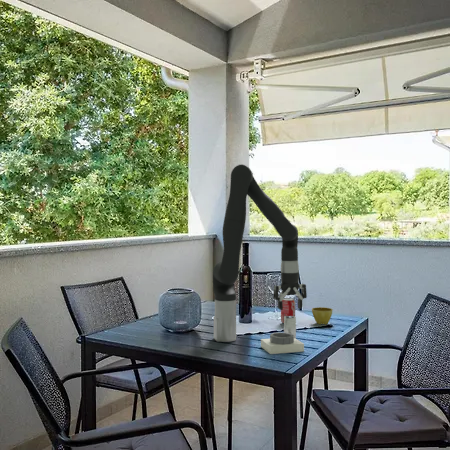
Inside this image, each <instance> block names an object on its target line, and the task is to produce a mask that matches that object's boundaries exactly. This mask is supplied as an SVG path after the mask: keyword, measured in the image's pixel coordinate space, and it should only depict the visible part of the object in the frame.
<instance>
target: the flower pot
mask: <svg viewBox="0 0 450 450" xmlns="http://www.w3.org/2000/svg"><path fill="white" fill-rule="evenodd" d="M311 313H312V316H313V318H314V320H315V322H316V324H317V325H321V324H325V325H328V323H329V322H330V321H331V318H332V315H333V308H331V307H330V308H329V307H325V306H323V307H321V306H320V307H319V306H317V307H312V308H311Z"/></svg>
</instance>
